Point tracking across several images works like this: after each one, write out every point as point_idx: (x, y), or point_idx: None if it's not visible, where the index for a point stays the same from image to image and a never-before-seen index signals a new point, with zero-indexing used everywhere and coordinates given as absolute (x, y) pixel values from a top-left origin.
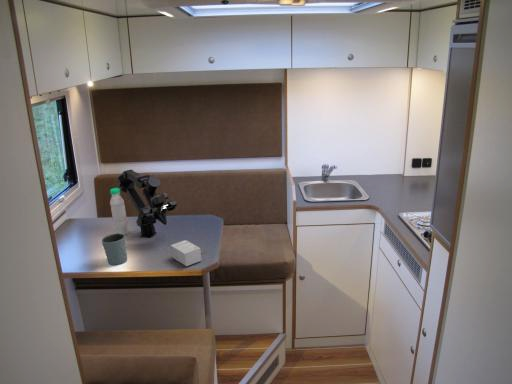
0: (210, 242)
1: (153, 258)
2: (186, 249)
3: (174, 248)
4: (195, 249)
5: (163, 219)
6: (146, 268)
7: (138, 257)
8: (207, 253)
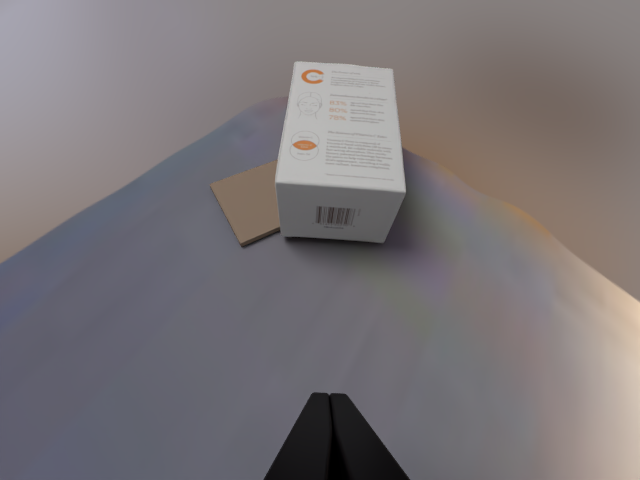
0: (82, 249)
1: (479, 342)
2: (359, 88)
3: (401, 153)
4: (324, 63)
5: (364, 465)
6: (545, 257)
7: (582, 461)
8: (218, 163)
